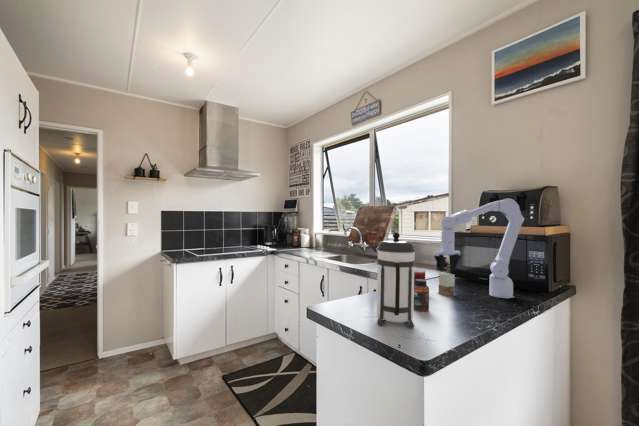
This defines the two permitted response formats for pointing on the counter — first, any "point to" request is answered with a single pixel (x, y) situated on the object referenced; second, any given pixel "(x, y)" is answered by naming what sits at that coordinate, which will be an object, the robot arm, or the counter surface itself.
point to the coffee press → (395, 281)
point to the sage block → (446, 279)
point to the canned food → (419, 274)
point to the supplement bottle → (421, 295)
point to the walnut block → (446, 290)
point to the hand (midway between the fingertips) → (447, 270)
